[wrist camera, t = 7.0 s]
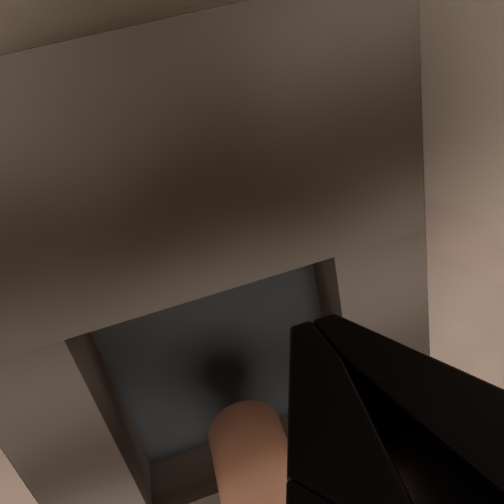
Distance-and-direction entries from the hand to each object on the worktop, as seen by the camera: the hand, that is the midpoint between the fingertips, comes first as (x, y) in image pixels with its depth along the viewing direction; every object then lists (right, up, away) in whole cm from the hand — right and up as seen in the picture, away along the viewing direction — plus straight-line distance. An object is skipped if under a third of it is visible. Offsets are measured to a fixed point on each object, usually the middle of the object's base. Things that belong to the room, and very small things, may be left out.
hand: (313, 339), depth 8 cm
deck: (-1, -9, +12) cm, 15 cm away
